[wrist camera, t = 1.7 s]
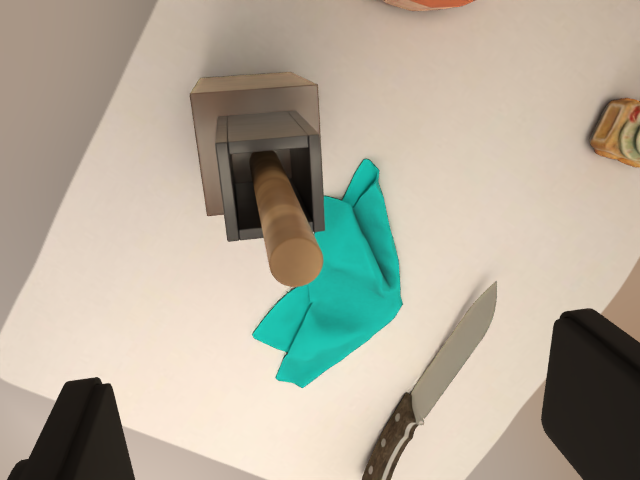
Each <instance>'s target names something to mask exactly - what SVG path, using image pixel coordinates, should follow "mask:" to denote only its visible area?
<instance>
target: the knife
mask: <svg viewBox="0 0 640 480" xmlns="http://www.w3.org/2000/svg"><path fill="white" fill-rule="evenodd" d="M496 298H497V281H496V282H495V283H493V284H492V285H491V286H490V287H489V288H488V289H487V290H486V291H485V292H484V293H483V294H482V295H481V296H480V297H479V298H478V299H477V300H476V301H475V303H474V304H473V305H472V306H471V307H470V308H469V310H468V311H467V312H466V314H465V315H464V317H463V318H462V320H461V321H460V322H459V324H458V325H457V327H456V328H455V330H454V331H453V332H452V334H451V335H450V337H449V338H448V340H447V341H446V342H445V344H444V345H443V347H442V348H441V350H440V351H439V352H438V354H437V355H436V357H435V358H434V360H433V361H432V363H431V364H430V365H429V367H428V368H427V370H426V371H425V373H424V374H423V375H422V377H421V378H420V380H419V381H418V383H417V384H416V385H415V387H414V389H413V391H412V392H411V394H408V393H406V394H405V396H404V397H403V399H402V401H401V402H400V404H399V406H398V407H397V409H396V410H395V412H394V414H393V415H392V417H391V419H390V420H389V422H388V423H387V425H386V427H385V429H384V430H383V432H382V434H381V436H380V438H379V440H378V442H377V444H376V447H375V449H374V451H373V453H372V455H371V458H370V460H369V462H368V464H367V466H366V469H365V471H364V474H363V477H362V480H391V477H392V474H393V472H394V469H395V467H396V465H397V462H398V460H399V458H400V456H401V454H402V452H403V450H404V449H405V447H406V445H407V444H408V442H409V441H410V440H411V439H412V438H413V434H414V431H415V429H416V427H417V426H418V425H423V424H424V420H423V418H424V419H425V417H426V416H427V415H428V413H429V412H430V411H431V409H432V408H433V407H434V405H435V404H436V402H437V401H438V400H439V398H440V397H441V395H442V394H443V393H444V391H445V390H446V388H447V387H448V386H449V384H450V383H451V382H452V380H453V379H454V377H455V376H456V375H457V373H458V372H459V370H460V369H461V368H462V366H463V365H464V363H465V362H466V361H467V359H468V358H469V357H470V355H471V354H472V352H473V351H474V350H475V348H476V347H477V345H478V344H479V343H480V341H481V340H482V338H483V337H484V335H485V334H486V332H487V330H488V328H489V326H490V324H491V321H492V318H493V315H494V312H495V306H496Z"/></svg>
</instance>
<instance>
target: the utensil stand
mask: <svg viewBox="0 0 640 480" xmlns="http://www.w3.org/2000/svg"><path fill="white" fill-rule="evenodd" d="M190 100H191V107H192V114H193V121H194V128H195V135H196V142H197V149H198V156H199V163H200V170H201V177H202V184H203V191H204V198H205V205H206V212H207V216H215V215H224V218H225V225H226V233H227V240H228V242H230V241H238V240H239V239H240V240H248V239H257V238H264V237H263V232H262V227H261V221H260V216H259V211H258V206H257V201H256V196H255V191H254V186H253V181H252V176H251V171H250V166H249V160H250V157H251V155H252V153H253V152H262V151H274V152H275V153H276V154H277V156H278V158H279V160H280V162H281V164H282V166H283V168H284V171H285V173H286V175H287V177H288V179H289V182H290V184H291V186H292V188H293V190H294V192H295V195H296V197H297V199H298V201H299V203H300V206H301V208H302V210H303V212H304V214H305V216H306V219H307V221H308V223H309V225H310V227H311V230H312V232H313V231H314V232H320V231H325V217H324V195H323V175H322V156H321V136H320V117H319V98H318V85H317V84H315V83H313V82H311V81H309V80H307V79H304V78H302V77H300V76H298V75H296V74H294V73H292V72H282V73H267V74H252V75H237V76H222V77H207V78H200V79H199V81H198V82H197V84H196V85H195V87H194V88H193V90H192V91H191V93H190Z"/></svg>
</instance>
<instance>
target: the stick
mask: <svg viewBox="0 0 640 480" xmlns="http://www.w3.org/2000/svg"><path fill="white" fill-rule="evenodd" d="M249 166H250V171H251V176H252V181H253V186H254V191H255V196H256V201H257V206H258V211H259V216H260V221H261V227H262V232H263V237H264V242H265V247H266V252H267V257H268V262H269V267H270V271H271V273H272V275H273V276H274V278H275V279H276V280H277V281H278V282H280V283H282V284H284V285H286V286H291V287H299V286H304V285H306V284H309V283H310V282H312V281H313V280H314V279H315V278H316V277H317V276H318V275H319V273H320V272H321V269H322V266H323V254H322V251H321V249H320V247H319V245H318V243H317V240H316V238H315V236H314V234H313V232H312V230H311V227H310V225H309V223H308V221H307V219H306V216H305V214H304V212H303V210H302V208H301V206H300V203H299V201H298V199H297V197H296V195H295V192H294V190H293V188H292V186H291V184H290V182H289V179H288V177H287V175H286V173H285V171H284V168H283V166H282V164H281V162H280V160H279V158H278V156H277V154H276V153H275V152H274V151H262V152H253V153H252V155H251V157H250V160H249Z"/></svg>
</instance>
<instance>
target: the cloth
mask: <svg viewBox="0 0 640 480" xmlns="http://www.w3.org/2000/svg"><path fill="white" fill-rule="evenodd" d="M378 180H379V169H378V168H377V167H376V166H375V165H374V164H373V163H372V162H371V161H370V160H369V159H364V160H363V162H362V163H361V165H360V166H359V168H358V169H357V171H356V172H355V174H354V176H353V178H352V181H351V183H350V185H349V187H348V189H347V191H346V194H345V196H344V198H343V200H342V201H341V200H339V199H336V198H332V197H328V196H324V217H325V231H320V232H315V235H314V236H315V238H316V240H317V243H318V245H319V247H320V249H321V251H322V254H323V266H322V269H321V272H320V273H319V275H318V276H317V277H316V278H315V279H314V280H313V281H312V282H310V283H309V284H306V285H304V286H299V287H296V288H295V289H293V290H292V291H290V292H289V293H287V294H286V295H285V296H284V297H283V298H282V299H281V300H280V301H279V302H278V303H277V304H276V305H275V306H274V307H273V308H272V310H271V311H270V312H269V313H268V314H267V315H266V317H265V318H264V319H263V320H262V322H261V323H260V324H259V326H258V327H257V329H256V330H255V331H254V333H253V334H252V335H253V337H254V338H255V339H257V340H259V341H261V342H263V343H265V344H267V345H270V346H272V347H274V348H276V349H279V350H282V351H285V352H287V353H288V354H287V355H286V356H285V357H284V359H283V361H282V364H281V366H280V368H279V371H278V373H277V376H276V379H277V380H278V381H284V382H291V383H294V384H296V385H298V386H299V387H301V388H304V387H305V386H306V385H308V384H309V383H310V382H312V381H313V380H314V379H316V378H317V377H318V376H319V375H321V374H322V373H323V372H325V371H326V370H327V369H329V368H330V367H332V366H333V365H335V364H337V363H338V362H340V361H341V360H343V359H344V358H345V357H346V356H348V355H349V354H350V353H351V352H353V351H354V350H356V349H357V348H358V347H360V346H361V345H363V344H364V343H365V342H367V341H368V340H369V339H370V338H371V337H372V336H373V335H374V334H376V333H377V332H378V331H380V330H381V329H382V328H383V327H385V326H386V325H387V324H388V323H390V322H391V321H392V320H393V319H394V318H395V316H396V315H397V313H398V311H399V310H400V308H401V306H402V305H403V303H402V299H401V296H400V274H399V260H398V256H397V252H396V248H395V244H394V240H393V236H392V234H391V230H390V225H389V221H388V216H387V212H386V207H385V202H384V197H383V194H382V191H381V188H380V185H379V182H378Z"/></svg>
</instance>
